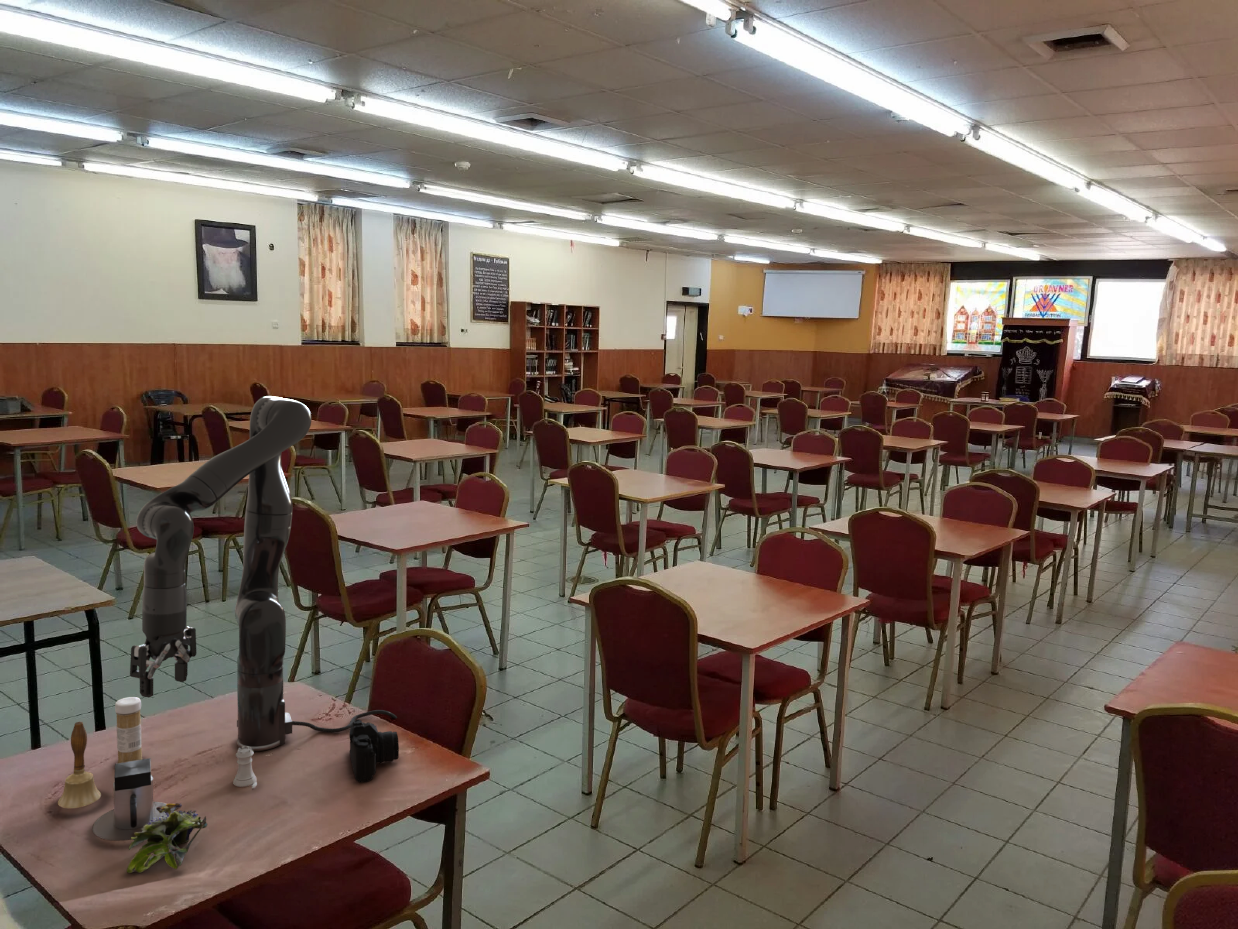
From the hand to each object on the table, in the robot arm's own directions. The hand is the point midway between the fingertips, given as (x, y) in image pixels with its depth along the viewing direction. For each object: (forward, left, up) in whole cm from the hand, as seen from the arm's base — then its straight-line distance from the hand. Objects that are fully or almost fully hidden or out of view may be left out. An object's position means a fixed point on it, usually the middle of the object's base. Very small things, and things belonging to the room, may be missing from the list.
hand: (164, 688), depth 170 cm
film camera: (-39, +6, -20) cm, 44 cm away
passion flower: (0, +28, -20) cm, 34 cm away
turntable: (+5, +13, -20) cm, 25 cm away
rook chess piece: (-14, +6, -20) cm, 25 cm away
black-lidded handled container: (+5, +15, -19) cm, 24 cm away
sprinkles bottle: (+6, -13, -20) cm, 25 cm away
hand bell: (+14, +1, -20) cm, 25 cm away
